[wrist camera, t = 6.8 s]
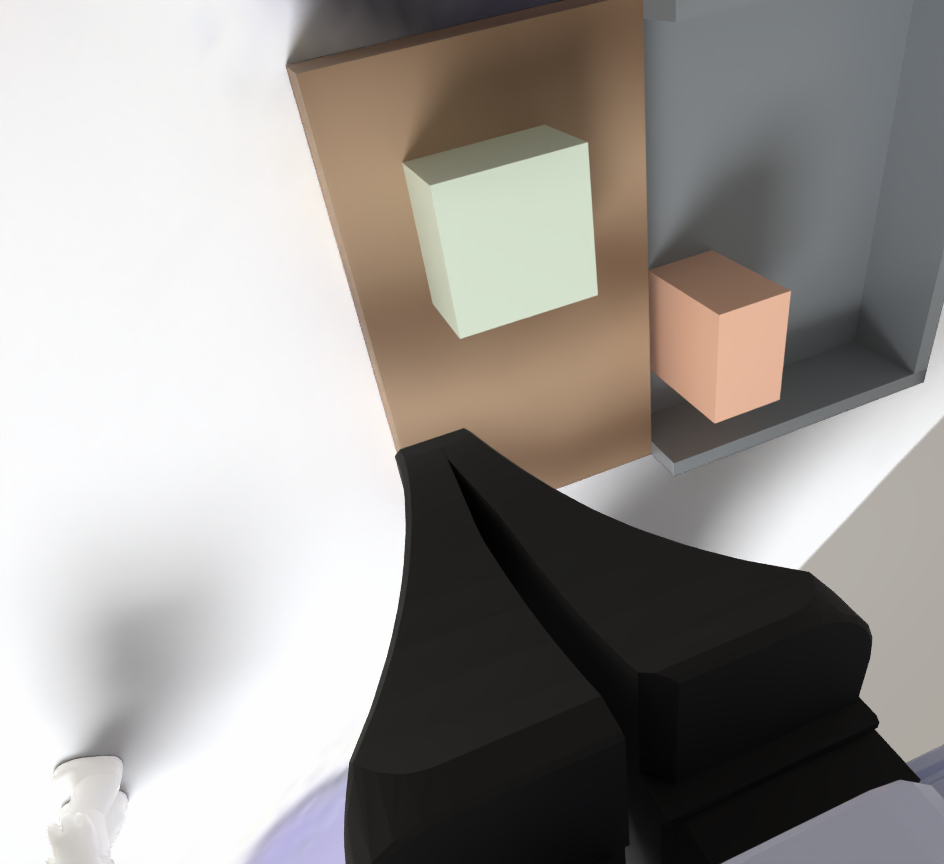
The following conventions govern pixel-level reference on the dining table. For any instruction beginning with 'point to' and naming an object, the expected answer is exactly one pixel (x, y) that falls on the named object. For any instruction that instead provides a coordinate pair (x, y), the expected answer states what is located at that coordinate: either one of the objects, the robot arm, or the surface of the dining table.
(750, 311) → the tile terracotta
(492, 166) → the tile sage
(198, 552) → the dining table surface
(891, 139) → the tray
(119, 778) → the flower shoulder figurine
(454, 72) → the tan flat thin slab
